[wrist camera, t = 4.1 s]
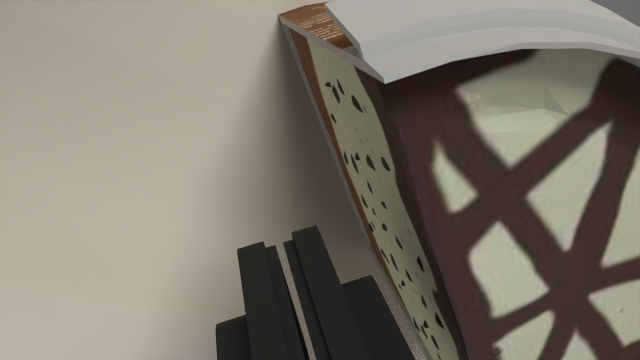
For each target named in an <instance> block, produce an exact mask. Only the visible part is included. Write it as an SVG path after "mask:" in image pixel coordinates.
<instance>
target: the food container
mask: <svg viewBox="0 0 640 360" xmlns="http://www.w3.org/2000/svg"><path fill="white" fill-rule="evenodd" d="M278 16H279V19H280V21H281V24H282V26H283V29H284V31H285V34H286V37H287V39H288V42H289V44H290V47H291V50H292V52H293V55H294V57H295V60H296V62H297V65H298V68H299V70H300V73H301V75H302V78H303V81H304V83H305V86H306V88H307V91H308V93H309V96H310V99H311V101H312V104H313V106H314V109H315V112H316V114H317V117H318V119H319V122H320V124H321V127H322V130H323V132H324V135H325V137H326V140H327V143H328V145H329V148H330V150H331V153H332V156H333V158H334V161H335V163H336V166H337V168H338V171H339V174H340V176H341V179H342V181H343V184H344V187H345V189H346V192H347V194H348V197H349V199H350V202H351V205H352V207H353V210H354V212H355V215H356V218H357V220H358V223H359V225H360V228H361V230H362V233H363V236H364V238H365V241H366V243H367V246H368V248H369V250H370V252H371V254H372V256H373V258H374V260H375V261H376V263H377V265H378V267H379V269H380V271H381V273H382V275H383V277H384V279H385V281H386V282H387V284H388V286H389V288H390V290H391V292H392V294H393V296H394V298H395V300H396V301H397V303H398V305H399V307H400V309H401V311H402V313H403V315H404V317H405V319H406V321H407V322H408V324H409V326H410V328H411V330H412V332H413V334H414V336H415V338H416V340H417V341H418V343H419V345H420V347H421V349H422V351H423V353H424V355H425V357H426V359H427V360H640V27H638V26H636V25H635V24H633V23H631V22H629V21H628V20H626V19H624V18H623V17H621V16H619V15H617V14H616V13H614V12H612V11H610V10H609V9H607V8H605V7H603V6H600V5H598V4H596V3H594V2H592V1H590V0H334V1H331V2H324V3H318V4H312V5H306V6H303V7H300V8H297V9H294V10H291V11H288V12H285V13H282V14H279V15H278Z"/></svg>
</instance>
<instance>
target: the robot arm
mask: <svg viewBox="0 0 640 360" xmlns="http://www.w3.org/2000/svg"><path fill="white" fill-rule="evenodd" d="M291 234H292V238H293V240H290V241H287V242H283V244H284V247H285V251H286V254H287V258H288V261H289V265H290V268H291V272H292V275H293V279H294V282H295V286H296V289H297V293H298V296H299V300H300V303H301V307H302V310H303V314H304V317H305V321H306V324H307V328H308V331H309V335H310V338H311V342H312V346H313V349H314V353H315V356H316V360H415V358H414V356H413V354H412V352H411V350H410V348H409V346H408V344H407V342H406V340H405V339H404V337H403V335H402V333H401V331H400V329H399V327H398V325H397V323H396V321H395V319H394V317H393V315H392V313H391V311H390V309H389V307H388V305H387V303H386V301H385V299H384V297H383V295H382V293H381V291H380V289H379V287H378V286H377V284H376V282H375V280H374V278H373V277H372V276H371V275H370V276H367V277H363V278H360V279H357V280H354V281H351V282H348V283H345V284H341V283H340V281H339V279H338V276H337V274H336V271H335V269H334V266H333V264H332V262H331V259H330V257H329V254H328V252H327V249H326V247H325V244H324V242H323V240H322V237H321V235H320V232H319V230H318V228H317V226H316V225H315V226H312V227H309V228H305V229H302V230H299V231H295V232H292V233H291ZM237 254H238V261H239V268H240V275H241V283H242V290H243V297H244V304H245V312H246V315H243V316H240V317H237V318H234V319H231V320H228V321H224V322H221V323H218V324H217V325H216V346H217V360H310V359H309V355H308V351H307V348H306V344H305V341H304V337H303V334H302V331H301V327H300V324H299V321H298V318H297V314H296V311H295V308H294V305H293V301H292V298H291V295H290V292H289V288H288V285H287V282H286V279H285V275H284V272H283V269H282V266H281V262H280V259H279V256H278V253H277V249H276V246H275V245H273V246H270V247H267V248H265V245H264V242H263V241H262V242H259V243H256V244H252V245H249V246H246V247H242V248H239V249H237Z"/></svg>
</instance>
